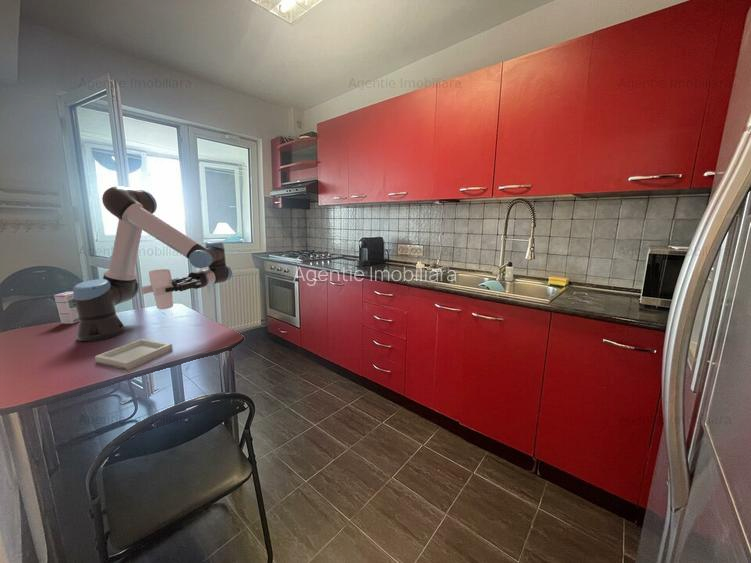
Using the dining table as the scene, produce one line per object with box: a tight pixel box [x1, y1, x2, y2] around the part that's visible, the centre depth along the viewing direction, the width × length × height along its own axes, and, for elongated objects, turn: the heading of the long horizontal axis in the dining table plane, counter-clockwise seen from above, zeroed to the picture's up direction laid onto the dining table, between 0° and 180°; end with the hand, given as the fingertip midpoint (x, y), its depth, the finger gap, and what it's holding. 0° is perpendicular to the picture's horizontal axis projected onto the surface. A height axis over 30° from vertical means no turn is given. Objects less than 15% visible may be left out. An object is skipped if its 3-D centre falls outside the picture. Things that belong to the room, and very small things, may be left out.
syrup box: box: [54, 291, 80, 325], centre depth 142 cm, size 6×6×14 cm
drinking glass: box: [148, 268, 174, 310], centre depth 116 cm, size 7×7×15 cm
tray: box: [94, 338, 173, 371], centre depth 109 cm, size 16×16×2 cm
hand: (149, 291), depth 111 cm, fingers closed on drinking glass, 6 cm apart
